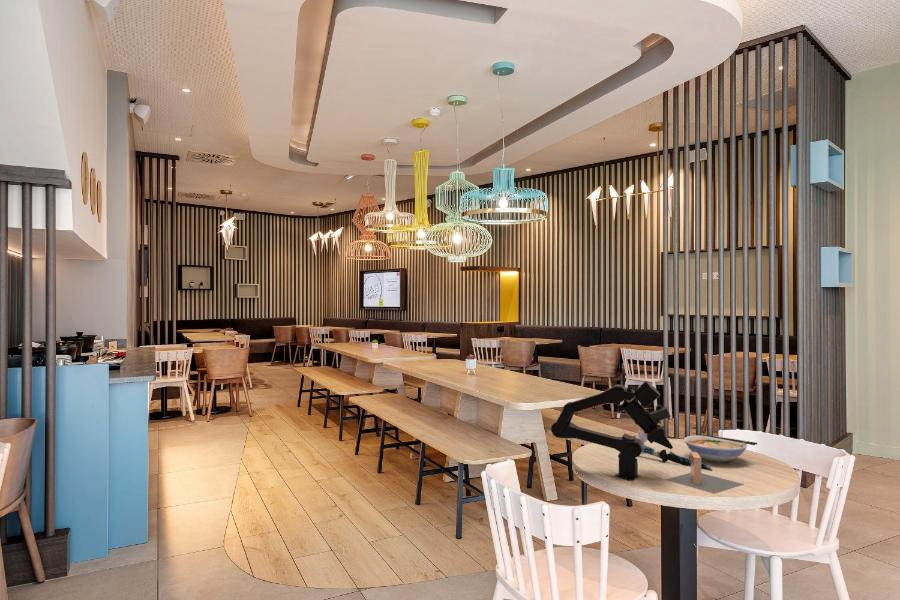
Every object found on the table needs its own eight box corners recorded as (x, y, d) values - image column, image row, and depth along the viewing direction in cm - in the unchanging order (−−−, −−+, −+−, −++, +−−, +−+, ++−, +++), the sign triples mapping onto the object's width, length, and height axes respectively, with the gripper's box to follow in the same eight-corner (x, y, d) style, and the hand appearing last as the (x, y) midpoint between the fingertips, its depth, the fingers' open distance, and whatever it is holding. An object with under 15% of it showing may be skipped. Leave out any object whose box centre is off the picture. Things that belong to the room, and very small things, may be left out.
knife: (634, 452, 229) (635, 442, 229) (639, 451, 231) (640, 440, 231) (708, 479, 205) (709, 466, 205) (712, 477, 207) (713, 465, 207)
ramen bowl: (669, 458, 226) (669, 437, 227) (699, 449, 240) (699, 430, 241) (732, 472, 207) (732, 449, 207) (761, 462, 221) (761, 441, 221)
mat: (714, 495, 181) (714, 493, 181) (665, 480, 195) (665, 479, 195) (744, 485, 191) (744, 484, 191) (695, 472, 206) (695, 471, 206)
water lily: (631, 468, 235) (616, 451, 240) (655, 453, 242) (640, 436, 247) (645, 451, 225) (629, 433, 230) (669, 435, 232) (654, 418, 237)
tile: (694, 484, 190) (694, 457, 190) (690, 477, 198) (690, 451, 198) (701, 485, 189) (701, 458, 190) (697, 478, 197) (697, 452, 197)
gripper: (658, 402, 188) (693, 438, 185) (654, 395, 206) (686, 427, 203) (633, 425, 191) (667, 460, 187) (631, 415, 208) (663, 447, 205)
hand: (672, 448), depth 196 cm, fingers closed
